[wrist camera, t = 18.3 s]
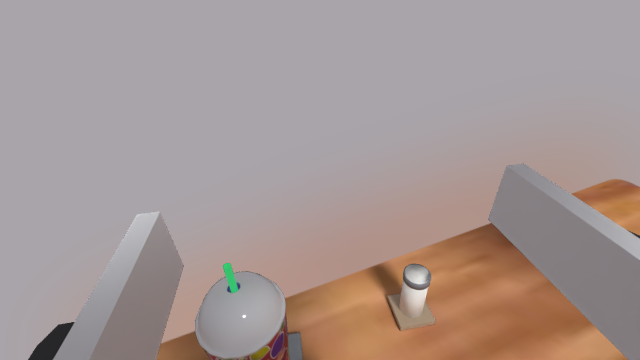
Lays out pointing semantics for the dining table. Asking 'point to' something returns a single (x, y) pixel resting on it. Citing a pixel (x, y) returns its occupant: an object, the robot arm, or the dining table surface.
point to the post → (412, 299)
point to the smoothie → (243, 319)
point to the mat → (295, 346)
